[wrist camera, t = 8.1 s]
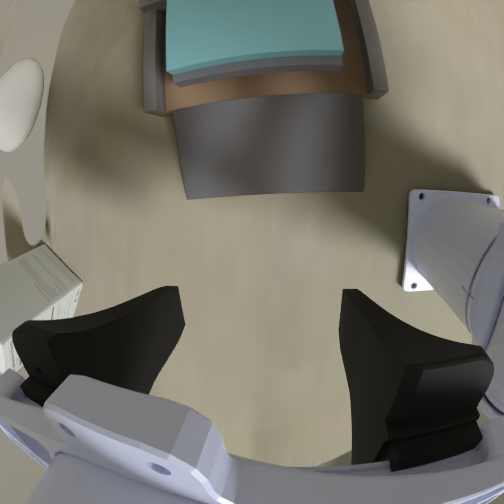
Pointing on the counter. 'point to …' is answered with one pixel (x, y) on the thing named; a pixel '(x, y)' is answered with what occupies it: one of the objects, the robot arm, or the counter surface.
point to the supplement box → (33, 296)
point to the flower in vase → (19, 102)
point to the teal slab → (250, 38)
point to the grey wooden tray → (270, 116)
